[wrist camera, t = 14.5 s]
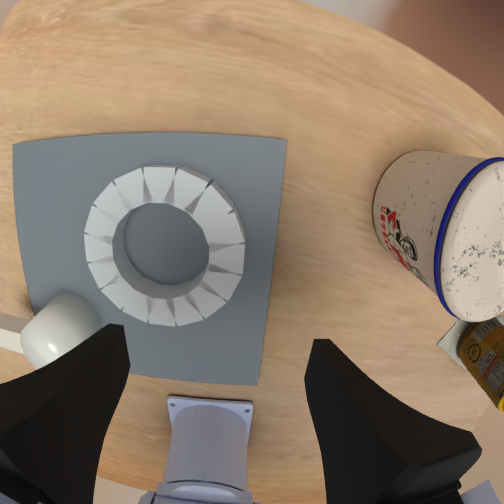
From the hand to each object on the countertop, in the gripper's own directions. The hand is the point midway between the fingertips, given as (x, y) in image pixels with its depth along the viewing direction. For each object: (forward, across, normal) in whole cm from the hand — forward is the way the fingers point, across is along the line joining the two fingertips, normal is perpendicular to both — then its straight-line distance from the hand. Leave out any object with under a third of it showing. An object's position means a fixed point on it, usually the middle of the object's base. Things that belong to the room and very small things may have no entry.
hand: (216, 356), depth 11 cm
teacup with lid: (+11, -15, -4) cm, 19 cm away
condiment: (+11, -26, +7) cm, 29 cm away
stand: (+10, +7, +2) cm, 13 cm away
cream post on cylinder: (+9, +14, +6) cm, 18 cm away
